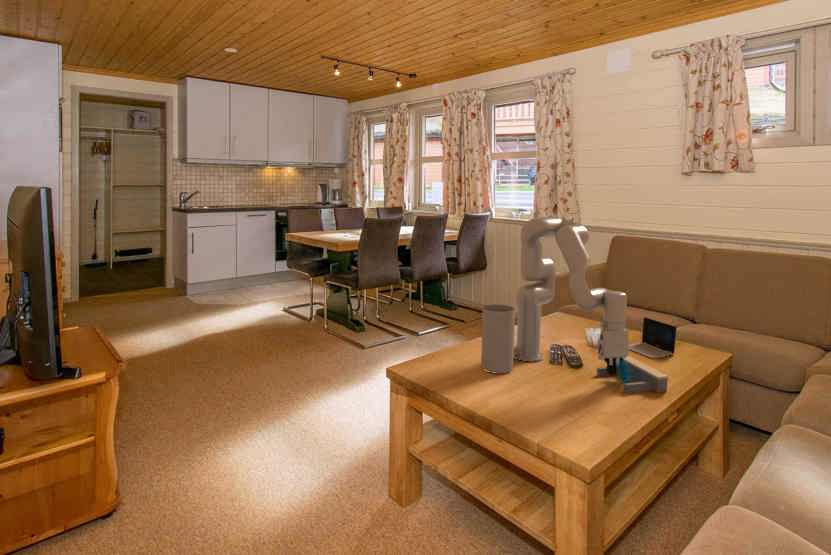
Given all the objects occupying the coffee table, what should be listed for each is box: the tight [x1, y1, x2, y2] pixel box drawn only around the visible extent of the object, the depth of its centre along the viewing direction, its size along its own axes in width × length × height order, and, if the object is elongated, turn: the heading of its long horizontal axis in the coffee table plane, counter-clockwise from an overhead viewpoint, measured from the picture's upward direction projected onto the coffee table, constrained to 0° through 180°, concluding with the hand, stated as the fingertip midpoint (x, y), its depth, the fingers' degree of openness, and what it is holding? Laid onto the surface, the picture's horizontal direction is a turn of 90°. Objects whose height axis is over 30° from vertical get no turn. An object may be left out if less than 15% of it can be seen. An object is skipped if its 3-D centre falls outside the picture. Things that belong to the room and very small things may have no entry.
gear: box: [616, 359, 633, 384], centre depth 188 cm, size 11×6×10 cm, turn 3°
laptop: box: [629, 316, 678, 359], centre depth 224 cm, size 18×12×13 cm
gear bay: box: [596, 355, 669, 394], centre depth 189 cm, size 15×22×6 cm
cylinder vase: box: [480, 303, 516, 374], centre depth 201 cm, size 12×12×25 cm
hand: (611, 374), depth 186 cm, fingers closed
